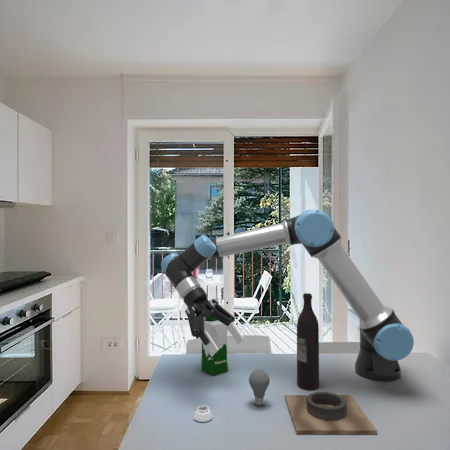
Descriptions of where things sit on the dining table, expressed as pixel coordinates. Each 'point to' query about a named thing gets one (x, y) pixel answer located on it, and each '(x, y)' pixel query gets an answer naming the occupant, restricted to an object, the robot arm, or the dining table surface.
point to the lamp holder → (327, 414)
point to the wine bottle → (307, 347)
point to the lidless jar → (203, 414)
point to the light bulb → (259, 385)
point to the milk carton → (219, 336)
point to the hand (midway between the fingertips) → (229, 346)
